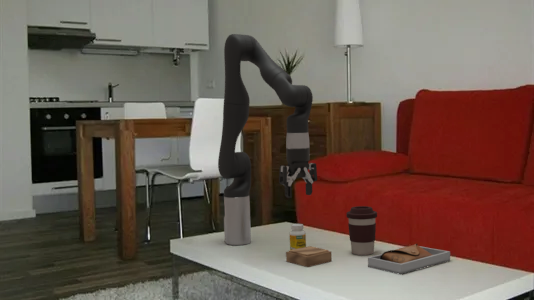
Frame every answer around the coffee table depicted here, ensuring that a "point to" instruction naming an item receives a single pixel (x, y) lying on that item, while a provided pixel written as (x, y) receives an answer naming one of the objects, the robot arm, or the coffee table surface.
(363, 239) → the coffee cup
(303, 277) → the coffee table surface
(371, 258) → the tray
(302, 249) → the walnut base
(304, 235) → the supplement bottle
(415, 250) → the brown elongated piece
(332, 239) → the coffee table surface
